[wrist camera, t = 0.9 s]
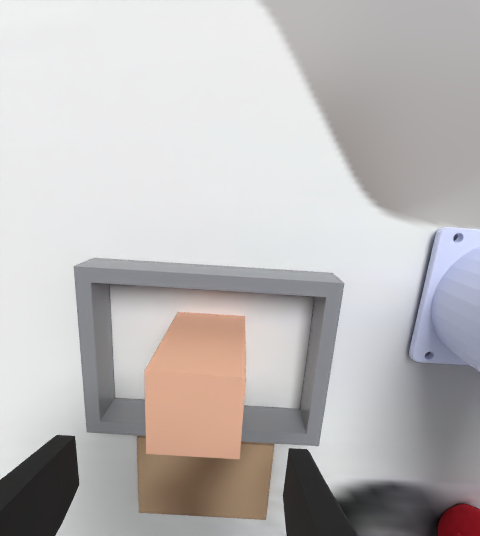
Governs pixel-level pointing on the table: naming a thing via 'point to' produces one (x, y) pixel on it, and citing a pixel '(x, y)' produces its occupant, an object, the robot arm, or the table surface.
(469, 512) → the alarm clock
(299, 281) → the gray rectangular frame
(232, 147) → the table surface
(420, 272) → the table surface
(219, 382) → the block
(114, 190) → the table surface
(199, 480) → the walnut pad
